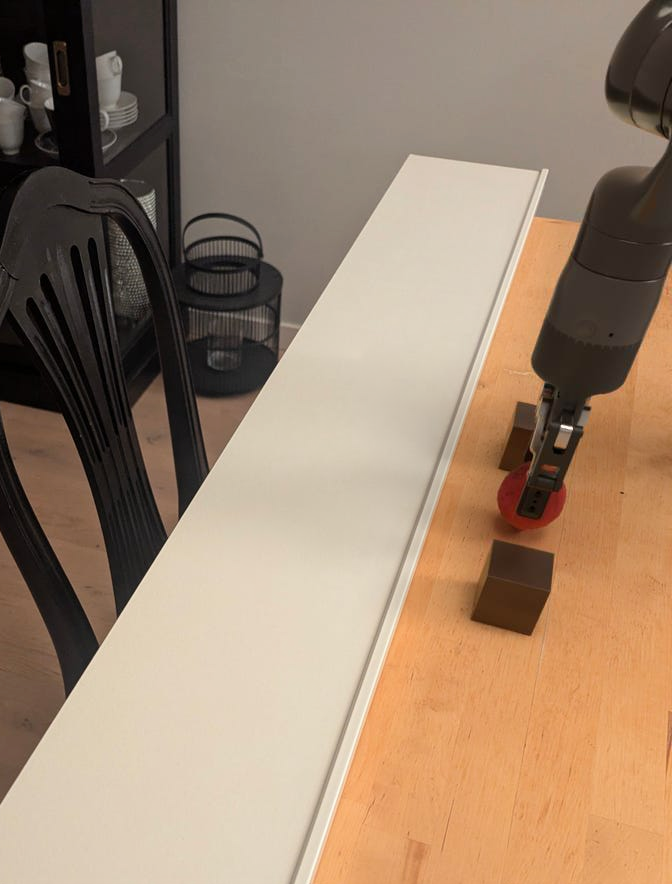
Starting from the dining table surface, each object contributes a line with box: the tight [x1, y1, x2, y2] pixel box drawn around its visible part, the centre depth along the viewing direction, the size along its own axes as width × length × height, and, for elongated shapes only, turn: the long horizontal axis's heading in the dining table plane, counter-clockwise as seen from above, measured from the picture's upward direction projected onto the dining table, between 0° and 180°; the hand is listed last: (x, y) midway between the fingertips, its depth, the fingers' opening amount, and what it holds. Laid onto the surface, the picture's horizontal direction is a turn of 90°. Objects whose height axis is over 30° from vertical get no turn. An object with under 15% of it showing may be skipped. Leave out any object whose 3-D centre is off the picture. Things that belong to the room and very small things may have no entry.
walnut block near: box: [470, 538, 555, 636], centre depth 76 cm, size 5×5×5 cm
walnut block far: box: [497, 400, 555, 472], centre depth 92 cm, size 5×5×5 cm
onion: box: [496, 461, 567, 532], centre depth 83 cm, size 6×6×8 cm
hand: (531, 488), depth 82 cm, fingers open, 8 cm apart
